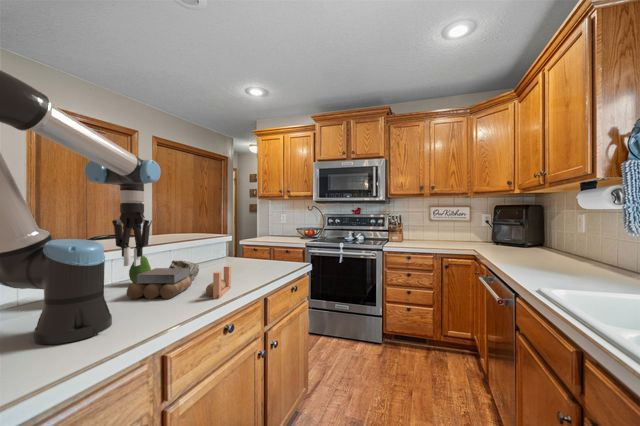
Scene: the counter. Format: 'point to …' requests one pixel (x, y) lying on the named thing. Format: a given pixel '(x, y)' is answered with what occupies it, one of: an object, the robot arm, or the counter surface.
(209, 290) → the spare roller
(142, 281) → the slab
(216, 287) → the wooden u-shaped block
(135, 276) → the fruit
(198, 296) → the counter surface
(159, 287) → the brown bread rolls
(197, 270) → the rock
